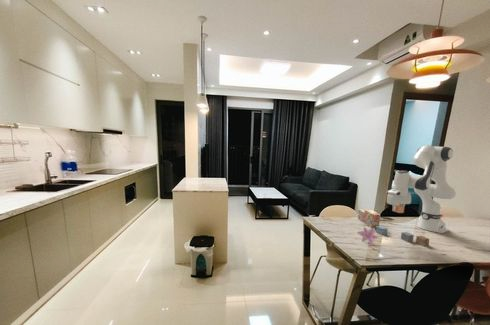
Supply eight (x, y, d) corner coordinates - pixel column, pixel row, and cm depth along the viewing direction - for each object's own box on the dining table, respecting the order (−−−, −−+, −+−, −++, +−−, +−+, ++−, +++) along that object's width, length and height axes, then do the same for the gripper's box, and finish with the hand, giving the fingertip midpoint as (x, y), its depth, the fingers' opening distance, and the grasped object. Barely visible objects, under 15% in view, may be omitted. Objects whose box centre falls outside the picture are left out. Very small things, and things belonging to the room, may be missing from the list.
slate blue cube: (381, 231, 161) (381, 225, 161) (386, 234, 156) (387, 228, 156) (376, 232, 160) (376, 226, 159) (381, 234, 155) (382, 228, 155)
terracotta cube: (397, 210, 154) (397, 204, 153) (403, 212, 149) (404, 206, 149) (392, 210, 153) (392, 204, 152) (398, 212, 148) (399, 206, 147)
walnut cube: (420, 242, 146) (421, 235, 145) (428, 245, 141) (429, 238, 140) (415, 242, 144) (416, 236, 144) (423, 246, 139) (424, 239, 139)
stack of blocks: (357, 218, 189) (358, 206, 188) (364, 219, 189) (365, 206, 187) (371, 228, 167) (373, 214, 166) (378, 228, 167) (380, 214, 166)
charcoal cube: (405, 238, 151) (406, 231, 151) (412, 241, 146) (413, 234, 146) (400, 238, 150) (401, 232, 149) (407, 241, 145) (408, 235, 144)
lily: (354, 238, 149) (355, 230, 144) (365, 231, 152) (366, 222, 147) (369, 250, 139) (371, 242, 134) (380, 242, 143) (382, 234, 138)
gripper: (406, 190, 155) (404, 207, 156) (385, 191, 150) (383, 208, 151) (414, 192, 149) (412, 210, 150) (394, 193, 144) (391, 211, 145)
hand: (398, 209), depth 151 cm, fingers closed on terracotta cube, 5 cm apart
